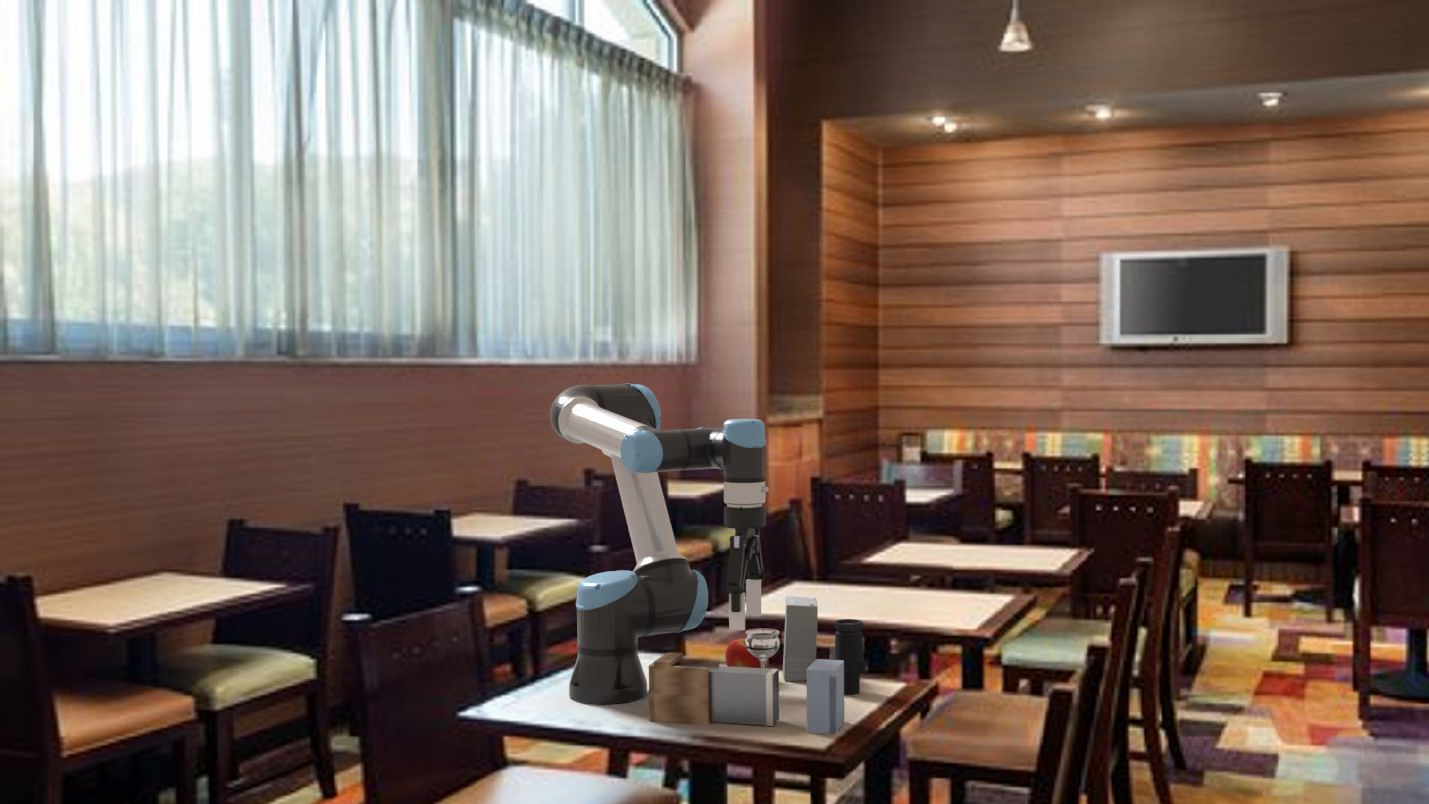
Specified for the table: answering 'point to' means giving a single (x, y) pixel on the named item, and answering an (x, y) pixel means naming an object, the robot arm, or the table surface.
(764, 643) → the wineglass
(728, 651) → the apple
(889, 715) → the table surface
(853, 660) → the scope
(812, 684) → the blue-grey upright rectangular block
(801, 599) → the skincare box
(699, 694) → the brown wooden box
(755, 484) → the robot arm
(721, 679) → the grey rectangular box
